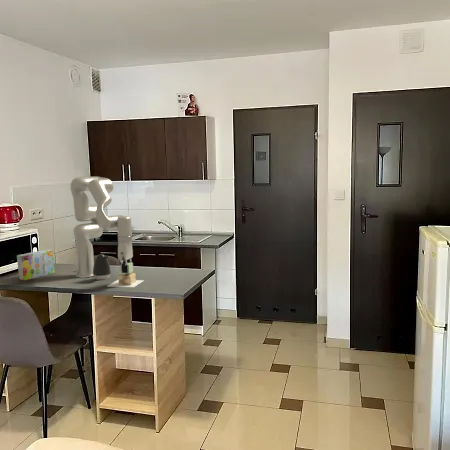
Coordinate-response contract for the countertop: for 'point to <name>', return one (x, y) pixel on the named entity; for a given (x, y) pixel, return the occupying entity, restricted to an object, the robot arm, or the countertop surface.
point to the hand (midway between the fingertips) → (126, 271)
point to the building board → (116, 284)
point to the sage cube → (130, 268)
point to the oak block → (127, 279)
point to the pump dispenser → (101, 267)
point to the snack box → (35, 264)
